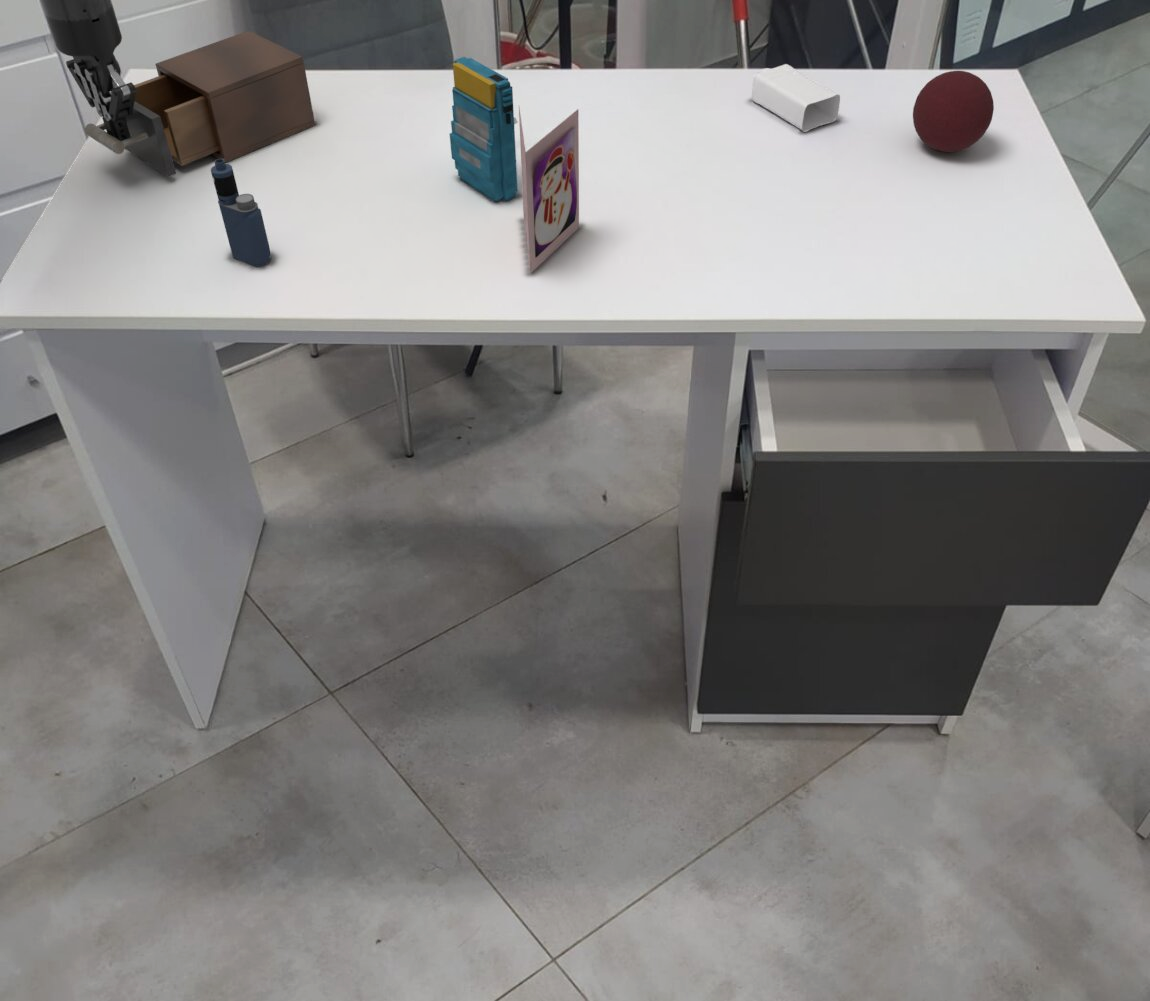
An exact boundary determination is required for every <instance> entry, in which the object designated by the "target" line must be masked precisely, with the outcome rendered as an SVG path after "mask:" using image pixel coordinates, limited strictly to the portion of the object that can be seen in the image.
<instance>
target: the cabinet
mask: <svg viewBox="0 0 1150 1001" xmlns="http://www.w3.org/2000/svg"><path fill="white" fill-rule="evenodd" d="M304 62H305V61H304V57H303V56H302V55H300V54H297V53H295V52H294V51H292V50H290V49H287V48H285V47H284V46H281V45H279V44H277V43H275V42H273V41H271V40H269V39H266V38H265V37H262V36H261V35H259V34H256V33H254V32H252V31H250V30H247V31H243V32H241V33H238V34H234V35H232V36H229V37H227V38H223V39H221V40H218V41H216V42H213V43H209V44H207V45H204V46H202V47H199V48H195V49H193V50H190V51H186V52H184V53H182V54H179V55H176V56H173V57H171V58H167V59H165V60H162V61H159V62H156V63H155V68H156V71H157V75H158V76H161V75H164V74H166V75H168V76H170V77H172V78H173V79H175V80H177V81H179V82H181V83H182V84H184V85H186V86H188V87H190V88H191V89H193V90H195V91H197V92H199V93H201V94H202V95H204V96H206V98H207V102H208V106H209V110H210V114H211V117H212V121H213V125H214V129H215V133H216V137H217V141H218V145H219V149H220V150H219V151H217V152H214V153H212V154H211V155H212V156H213V157H215V158H217V159H224V161H225V164H227V163H229V162H231V161H234V160H236V159H238V158H241V157H243V156H245V155H248V154H250V153H253V152H255V151H257V150H260V149H262V148H264V147H267V146H270V145H271V144H273V143H277V142H278V141H281V140H284V139H286V138H289V137H291V136H293V135H295V134H297V133H300V132H302V131H305V130H307V129H310V128H311V127H314V126H316V121H315V115H314V110H313V105H312V100H311V94H310V89H309V83H308V78H307V77H308V76H307V72H306V67H305V63H304ZM158 76H157V77H158Z"/></svg>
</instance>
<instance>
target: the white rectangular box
mask: <svg viewBox="0 0 1150 1001" xmlns="http://www.w3.org/2000/svg"><path fill="white" fill-rule="evenodd" d="M751 100H752V101H753V102H754V103H756V104H758V105H760V106H762V107H764V108H765V109H767V110H769V111H770V112H772V113H773V114H775V115H776V116H778V117H780V118H781V119H783V120H784V121H786V122H788V123H790V124H791V125H793V126H794V127H796V128H798V129H799V130H800V131H802V133H806V132H809V131H811V130H813V129H815V128H818V127H821V126H823V125H827V124H831V123H833V122H836V120H837V119H838V117H839V112H840V104H841V96H840V94H837V93H836V92H834V91H832V90H831V89H829V88H827V87H826V86H824V85H822V84H821V83H819V82H817V81H815V80H814V79H812V78H811V77H809V76H807V75H805V74H804V73H802V72H801V71H799V70H798V69H795V67H793V66H792V65H789V64H788V63H784V64H782V65H778V66H776V67H773V68H769V67H765V68H762V69H761V70H760V71H759V72H757V73H755V74H754V76H753V81H752V88H751Z"/></svg>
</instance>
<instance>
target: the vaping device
mask: <svg viewBox="0 0 1150 1001" xmlns="http://www.w3.org/2000/svg"><path fill="white" fill-rule="evenodd" d="M214 164H215V165H213V166H212V167H211V168H210V174H211V177H212V181H213V184H214V188H215V193H216V196H217V200H218V201H217V203H218V207H219V210H220V214H221V218H222V221H223V225H224V229H225V233H226V236H227V241H228V244H229V248H230V252H231V256H232V258H234V259H236V260H238V261H241V262H243V263H246V264H249V265H252V266H255V267H261V266H265V265H267V264H268V263H269V262H270V261H271V255H272V254H271V252H272V251H271V248H270V243H269V239H268V235H267V230H266V226H265V222H264V218H263V214H262V210H261V208H259V203H258V202H256V201H255V197H254V194H251V193H242V194H240V193H239V189H238V185H237V181H236V177H235V172H234V169H233V166H232V165H231V164H229V163H225V161H224V159H218V158H217V159H215V160H214Z"/></svg>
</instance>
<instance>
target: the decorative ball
mask: <svg viewBox="0 0 1150 1001" xmlns="http://www.w3.org/2000/svg"><path fill="white" fill-rule="evenodd" d="M912 108H913V109H912V121H913V126H914V129H915V133H916V134H917V136H918V137H919V139H920V140H921V141H922V142H923V143H924V144H925V145H927V146H928V147H929V148H931V149H933V150H936V151H939V152H944V153H954V152H960V151H963V150H964V149H967V148H970V147H971V146H973V145H974V144H976V143H977V142H979V141H980V139H981V138H982V137H984V135H985V134H986V132H987V130H988V129H989V127H990V126H991V123H992V120H993V116H994V109H995V106H994V98H993V95H992V91H991V90H990V88H989V86H988V84H986V82H985V81H984V80H983V79H981V78H980V76H978V75H976V74H974V73H972V72H968V71H965V70H951V71H946V72H943V73H940V74H939V75H936V76H935V77H933V78H931V80H929V81H928V82H927V83H925V85H924V86H923V88H921V89H920V91H919V93H918V94H917V96H916V99H915V102H914V105H913V107H912Z"/></svg>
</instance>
